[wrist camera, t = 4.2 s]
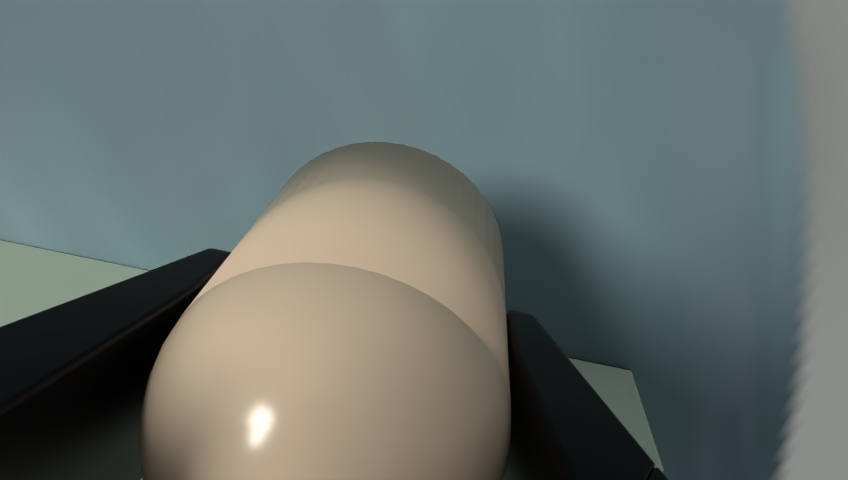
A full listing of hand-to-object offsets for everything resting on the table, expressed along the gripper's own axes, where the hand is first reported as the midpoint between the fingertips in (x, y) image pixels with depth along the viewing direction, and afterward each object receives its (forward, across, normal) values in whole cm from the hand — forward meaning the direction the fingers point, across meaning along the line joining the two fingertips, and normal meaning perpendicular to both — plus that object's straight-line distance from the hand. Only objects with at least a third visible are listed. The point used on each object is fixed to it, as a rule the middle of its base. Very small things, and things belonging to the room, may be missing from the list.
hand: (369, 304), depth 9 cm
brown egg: (+2, 0, 0) cm, 2 cm away
